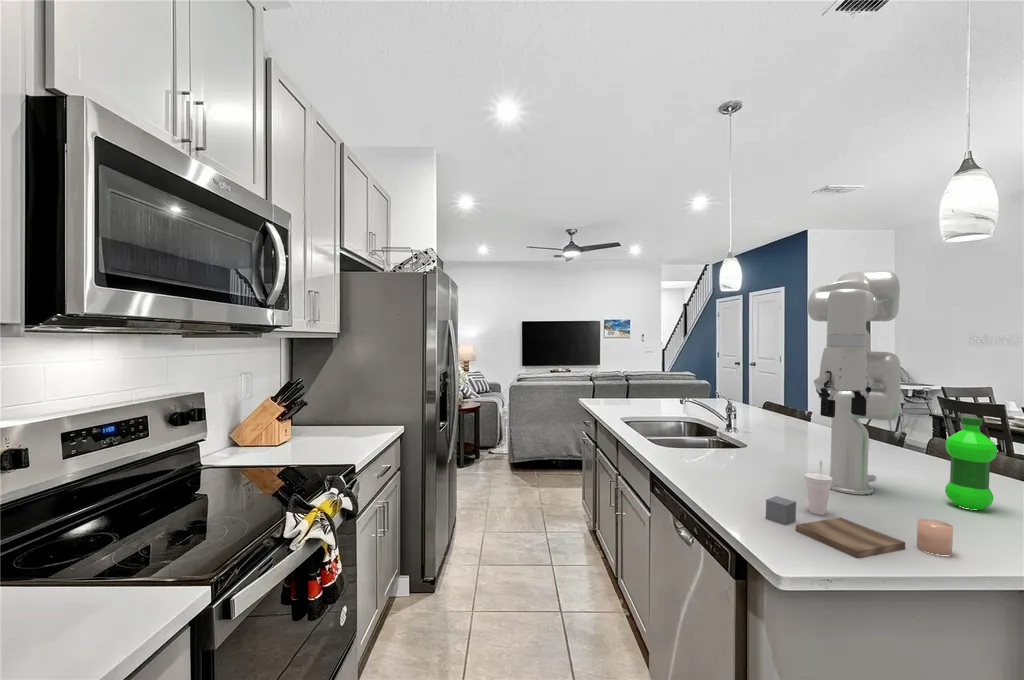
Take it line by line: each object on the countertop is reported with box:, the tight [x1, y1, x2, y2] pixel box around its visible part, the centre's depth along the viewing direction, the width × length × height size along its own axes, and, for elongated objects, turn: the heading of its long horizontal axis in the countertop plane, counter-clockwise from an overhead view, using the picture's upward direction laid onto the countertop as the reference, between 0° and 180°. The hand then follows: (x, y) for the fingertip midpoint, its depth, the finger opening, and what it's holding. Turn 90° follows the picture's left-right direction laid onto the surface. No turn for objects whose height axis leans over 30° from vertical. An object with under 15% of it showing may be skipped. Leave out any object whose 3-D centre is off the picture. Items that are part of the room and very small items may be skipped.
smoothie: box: [804, 460, 833, 516], centre depth 132 cm, size 6×6×14 cm
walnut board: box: [795, 517, 906, 559], centre depth 115 cm, size 15×15×2 cm
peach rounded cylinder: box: [916, 518, 954, 555], centre depth 109 cm, size 6×6×6 cm
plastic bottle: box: [944, 416, 998, 511], centre depth 137 cm, size 10×10×25 cm
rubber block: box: [765, 495, 797, 526], centre depth 126 cm, size 5×5×5 cm
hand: (843, 415), depth 115 cm, fingers open, 9 cm apart
